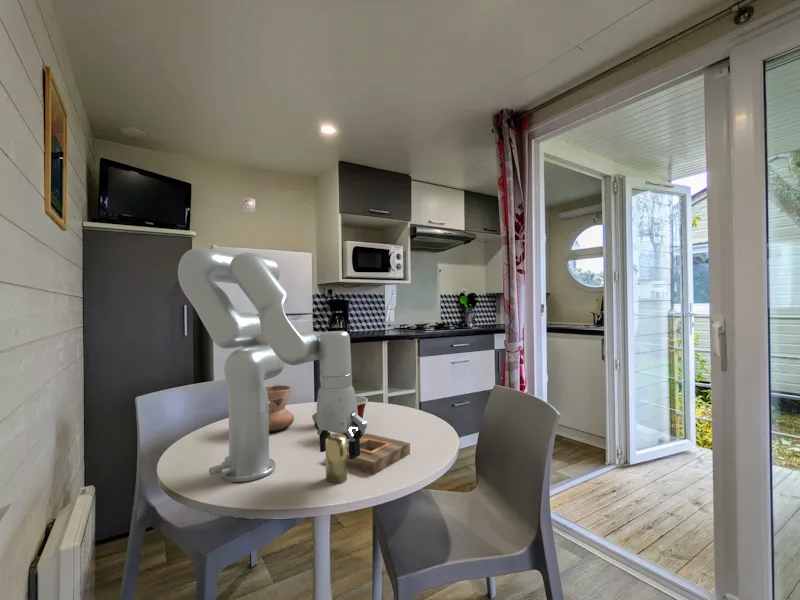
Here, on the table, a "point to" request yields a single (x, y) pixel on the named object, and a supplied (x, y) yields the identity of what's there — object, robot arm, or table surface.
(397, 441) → the walnut plate
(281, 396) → the ceramic jug
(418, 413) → the table surface
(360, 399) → the plastic cup
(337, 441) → the brass peg
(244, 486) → the table surface
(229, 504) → the table surface
